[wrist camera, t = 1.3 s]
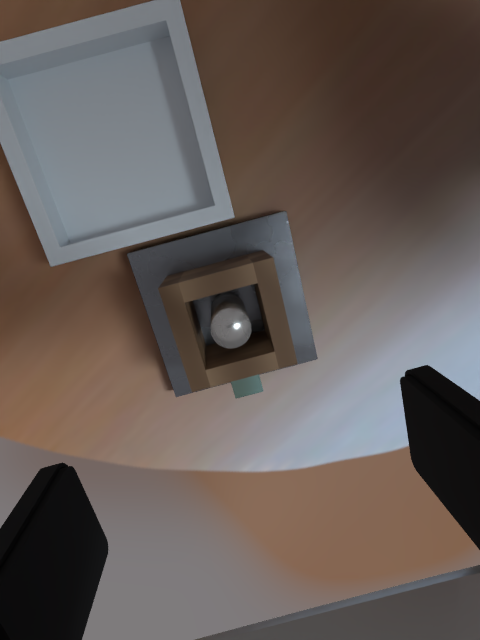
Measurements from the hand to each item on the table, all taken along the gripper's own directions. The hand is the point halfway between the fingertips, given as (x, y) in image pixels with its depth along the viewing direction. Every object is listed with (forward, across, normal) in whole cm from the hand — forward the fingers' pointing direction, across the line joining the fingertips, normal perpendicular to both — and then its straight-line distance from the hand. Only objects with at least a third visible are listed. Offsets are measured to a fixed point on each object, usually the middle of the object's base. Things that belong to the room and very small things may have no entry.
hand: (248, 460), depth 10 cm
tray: (+18, +4, -12) cm, 22 cm away
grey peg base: (+18, 0, 0) cm, 18 cm away
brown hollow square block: (+17, 0, 0) cm, 17 cm away
